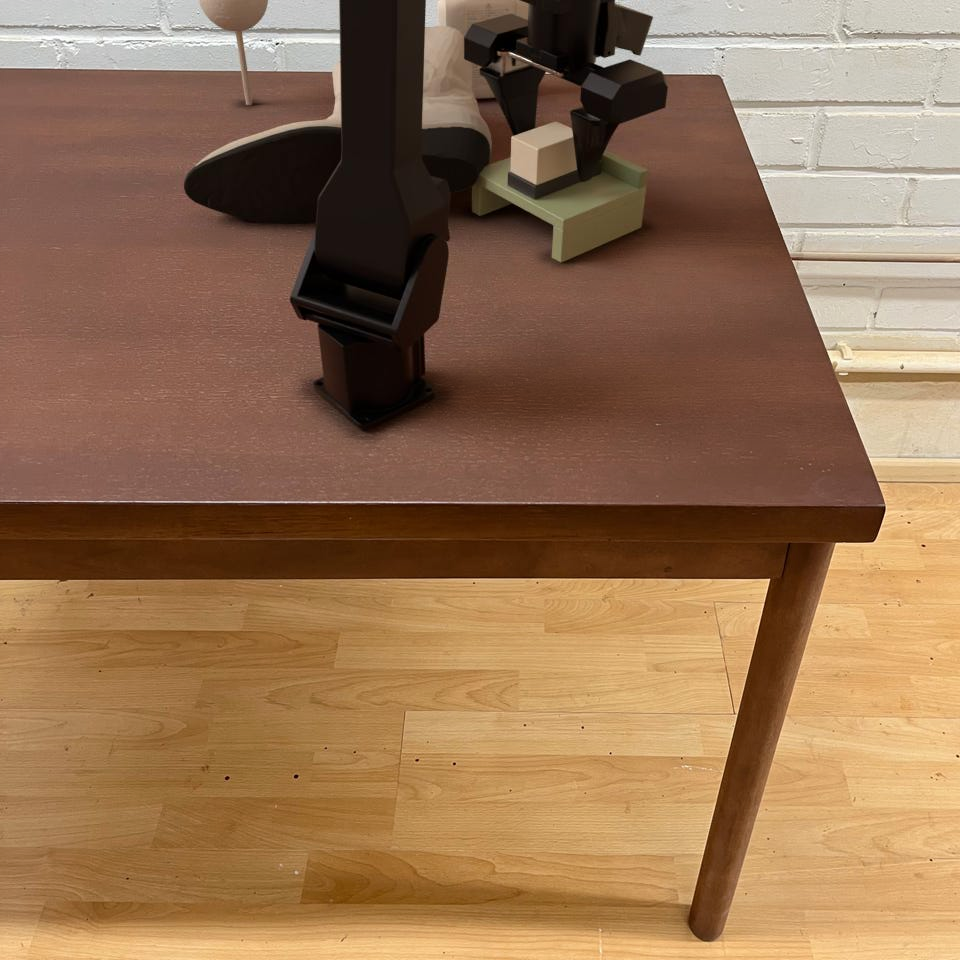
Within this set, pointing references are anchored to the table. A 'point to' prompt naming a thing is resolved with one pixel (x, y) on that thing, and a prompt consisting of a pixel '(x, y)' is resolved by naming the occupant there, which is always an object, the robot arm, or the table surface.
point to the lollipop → (236, 25)
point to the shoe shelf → (574, 204)
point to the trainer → (544, 161)
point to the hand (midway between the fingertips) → (555, 165)
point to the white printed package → (471, 4)
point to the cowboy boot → (317, 147)
